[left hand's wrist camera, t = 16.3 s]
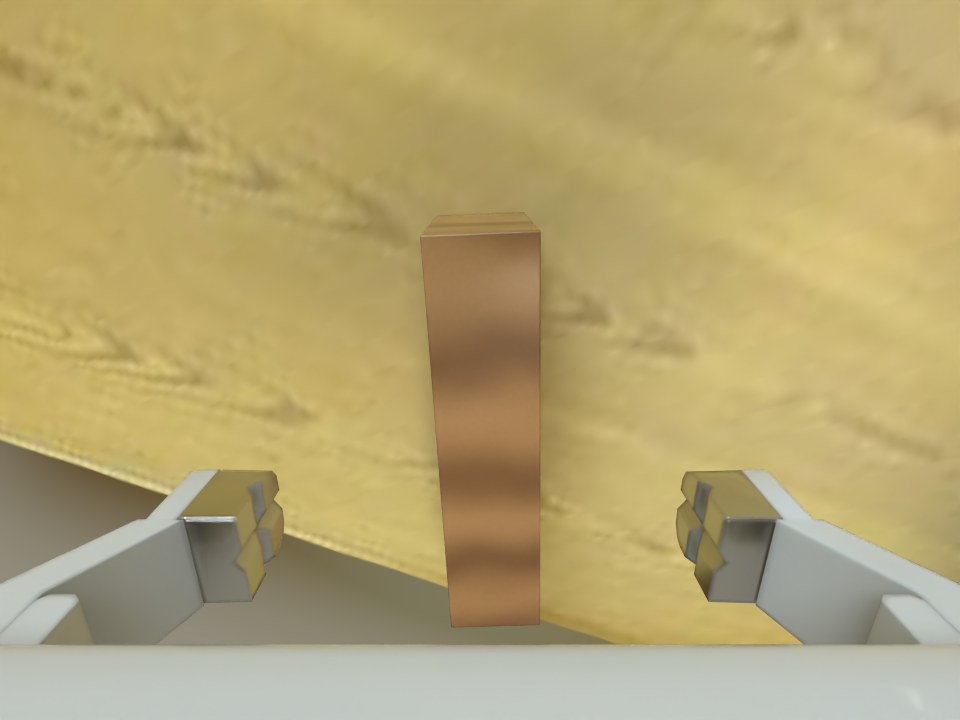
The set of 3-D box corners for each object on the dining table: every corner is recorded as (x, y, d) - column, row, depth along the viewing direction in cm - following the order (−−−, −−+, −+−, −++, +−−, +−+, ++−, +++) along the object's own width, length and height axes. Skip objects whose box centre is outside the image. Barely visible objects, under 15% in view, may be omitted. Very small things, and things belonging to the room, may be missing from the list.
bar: (436, 215, 33) (419, 235, 24) (524, 212, 33) (540, 230, 24) (457, 528, 42) (451, 628, 33) (527, 526, 41) (540, 625, 33)
